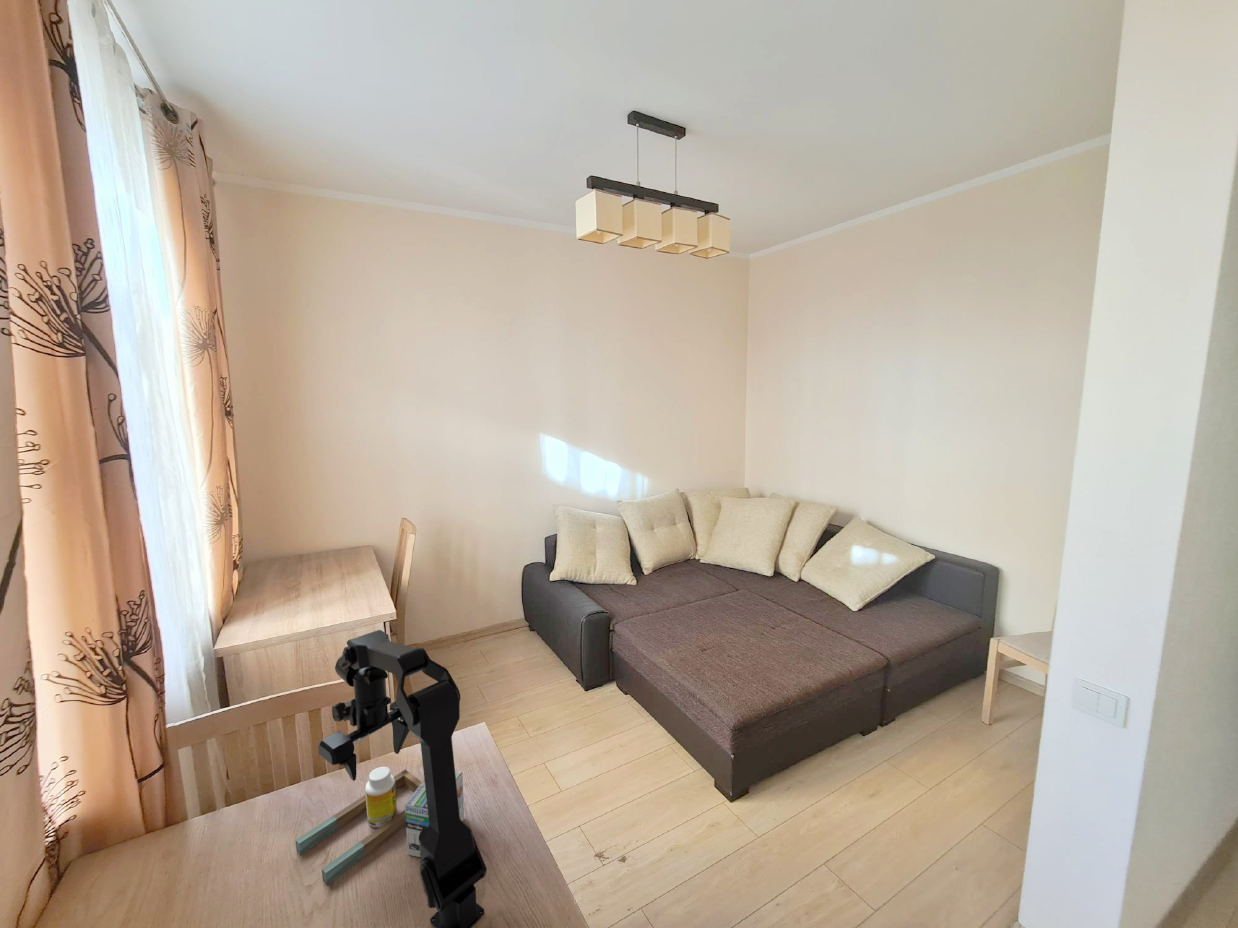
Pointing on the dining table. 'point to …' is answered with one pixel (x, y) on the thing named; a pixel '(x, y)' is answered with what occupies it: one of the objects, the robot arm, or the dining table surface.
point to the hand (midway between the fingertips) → (375, 765)
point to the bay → (363, 846)
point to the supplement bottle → (380, 797)
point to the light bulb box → (424, 814)
